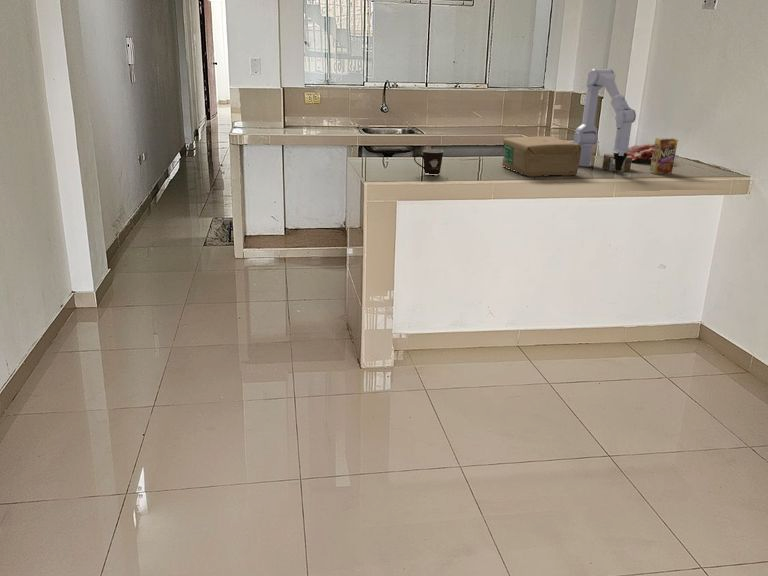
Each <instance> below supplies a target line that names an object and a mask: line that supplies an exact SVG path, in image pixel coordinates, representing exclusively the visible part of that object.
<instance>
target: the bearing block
mask: <svg viewBox="0 0 768 576" xmlns="http://www.w3.org/2000/svg"><path fill="white" fill-rule="evenodd" d="M602 158H603V160H602V166H601V168H602V170H604V169H607V171H609V167H610V160H611V158H613V159H614V160H613V161H615V157H614V154H607V153H604V154H603V157H602ZM632 161H633V160H632V156H627V157H626V158H625V166H624V172H631V169H632V168H631V167H632Z"/></svg>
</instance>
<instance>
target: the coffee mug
mask: <svg viewBox="0 0 768 576" xmlns="http://www.w3.org/2000/svg"><path fill="white" fill-rule="evenodd" d="M443 155H444V151H443V150H441V149H440V150H439V149H423V150H422V153H418V154H415V155H414V157H413V161H414V162H415V163H416V165H418V166H419V167H421V168H422V169H423V170H424V171H423V172H425V173H429V174H439V173H440V174H441V168H442V162H443ZM417 156H420V157H421V158H422V160H423V165H421V164H420V163H418V161H417V160H416V158H417ZM425 173H424V174H425Z"/></svg>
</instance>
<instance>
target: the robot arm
mask: <svg viewBox="0 0 768 576" xmlns="http://www.w3.org/2000/svg"><path fill="white" fill-rule="evenodd" d="M615 79H616V73H615V71H614V69H612V68H599V69H598V68H592V69H591V70H589V72H588V74H587V81H586V93H585V99H584V100H585V101H584V105H583V107H584V108H583V115H582V122H581V124H580V125H579V126H578V127H576V129H575V133H574V135H573V138H572V140H573V143H576V144H579V145H580V146H581V156H580V161H579V166H578V167H587V168H588V167H590V168H591V167H592V163H591V162H592V155H593V148H594V147H595V145H596V144H597V142H598V139H599V137H598V127H596V126H595V121H596V120H595V119H596V113H597V105H598V99H599V98H598V97H599V93H600V90H601V89H602V88H603V87H604V88H605V90H606V91H607V93H608V94H609V97H610V98H611V101H610V105H611V106H612V108H613V111H614V112H615V114H616V115H615V117H614V118H615V123H616V124H615V127H616V132H615V139H614V147H613V151H614V152H613V154H612V155H614V157H615V160H614V161H615V169H616V170H621V168H622V165H623V162H624V160H625V158H626V157H627V153H625V152H627V151H631V149H628V148H629V147H630V146H629V145H630V140H631V131H632V124H633V123H634V122H635V121H636V119H637V114H636V110H634V109H632V108H631V107H630V106H629V104H628V102H627V100H626V98H625V96H624V95H621V94H620V91H619V89H618V87H617V84H616V80H615Z"/></svg>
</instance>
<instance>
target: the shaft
mask: <svg viewBox="0 0 768 576" xmlns="http://www.w3.org/2000/svg"><path fill="white" fill-rule="evenodd" d="M623 168H624V165H622V168H621V170H616V169H615V160H613V165H612V169H613V171H612V172H615V173H622V172H621V171H622V170H623Z"/></svg>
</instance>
